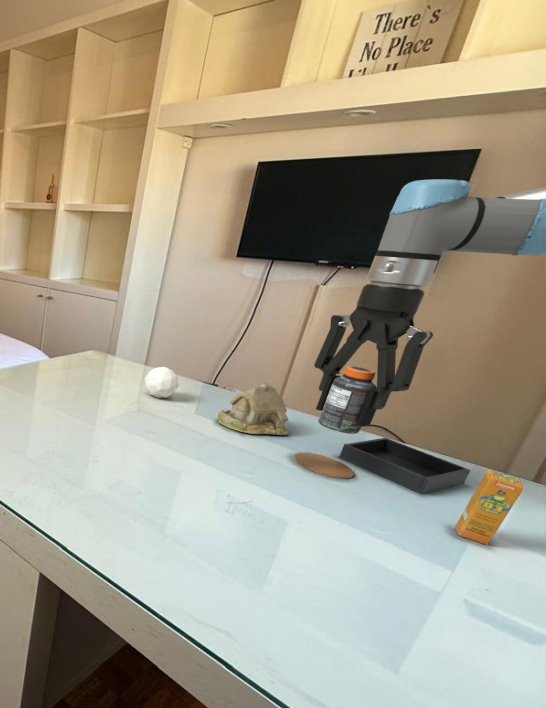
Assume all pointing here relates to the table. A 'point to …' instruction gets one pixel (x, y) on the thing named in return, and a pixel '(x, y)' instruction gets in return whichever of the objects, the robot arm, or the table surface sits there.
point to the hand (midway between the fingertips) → (342, 416)
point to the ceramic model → (256, 412)
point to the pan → (404, 465)
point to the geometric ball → (161, 382)
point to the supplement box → (488, 507)
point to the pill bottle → (347, 400)
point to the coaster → (323, 465)
